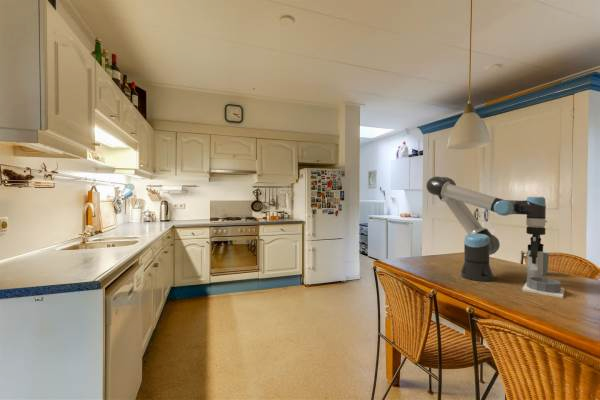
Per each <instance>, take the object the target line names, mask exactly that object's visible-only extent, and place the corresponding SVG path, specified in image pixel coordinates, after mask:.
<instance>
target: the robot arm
mask: <svg viewBox="0 0 600 400" xmlns="http://www.w3.org/2000/svg"><path fill="white" fill-rule="evenodd" d="M426 190H427V191H428V193H429V194H431V195H433V196H437V197H438V198H439V200H440V201H441V202H444V203H445V204H446V205H447V206H448V208H449V209H450V211H451V212H452V213H453V215H454V217H455V218H456V220H458V222H459V224H461V225H460V226H462V227H463V229H464V230H465V232H466V233H467V234H466V235H465V236H464V239H463V243H464V249H463V250H464V256H463V257H464V260H463V265H462V266H461V270H460V276H461V277H462V278H464V279H468V280H472V281H476V282H477V281H478V282H491V281H493V280H494V274H493V271H492V268H491V264H490V256H491V255H494V254H496V253H497V252H498V251H499V249H500V245H501V243H500V240H499V239H498V237H497V236H495V235H494V234H492V233H491V232H490V230H489V229H488V228H487V227H483V226H482V224H481V223H480V222H479V221H478V219H477V217H475V215H474V214H473V213H472V211H471V210H470V208H469V207H468V206H467V205H466V204H469V205H472V206H475V207H478V208H481V209H484V210H487V211H491V212H493V213H496V214H497V215H499V216H503V217H504V216H505V217H506V216H509V215H523V216H524V215H525V216H526V221H525V222H526V223H525V225H526V229H525V230H526V232H525V233H526V234H527V235H532V236H531V237H530V244H531V253H530V255H529V257H531V268H530V270H537V271H538V256H537V254H538V246H539V245H540V244H542V243H541V241H542V238H541V236H543V235H544V236H545V235H546V223H547V222H548V221H547V220H546V214H547V213H546V209H547V205H546V198H545V197H544V196H527V197H526V199H525V200H511V199H510V200H508V199H503V198H500V197H499V198H498V197H495V196H492V195H489V194H486V193H482V192H478V191H476V190H472V189H469V188H466V187H461V186H458V185H457V183H456V182H455V180H453V178H449V177H447V176H433V177H431V178H429V179H428V180H427V182H426Z"/></svg>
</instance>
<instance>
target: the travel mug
mask: <svg viewBox="0 0 600 400" xmlns="http://www.w3.org/2000/svg"><path fill="white" fill-rule="evenodd" d="M544 246H545V244H543V243H541V244H540V245H539V246H538V254H537V256H538V271H537V270H530V268H531V257H529V255H530V253H531V243H529V244H527V251H526V252H527V255H526V265H527V268H526V270H527V272H526V278H527V277H531V276H534V277H544V275H543V252H544Z"/></svg>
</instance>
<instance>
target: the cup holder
mask: <svg viewBox="0 0 600 400" xmlns="http://www.w3.org/2000/svg"><path fill="white" fill-rule="evenodd" d="M561 285H562V283H561V281H559V280H557V279H554V278H550V277H544V276H543V277H534V276H531V277H527V276H526V282H525V283H524V285H523V286H522V289H521V290H522V291H523V292H529V293H532V294H533V293H534V294H539V295H544V296H548V295H549V296H550V297H555V298H559V299H564V294H565V288H562V286H561Z"/></svg>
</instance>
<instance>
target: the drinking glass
mask: <svg viewBox="0 0 600 400" xmlns="http://www.w3.org/2000/svg"><path fill="white" fill-rule="evenodd" d="M525 252H526V253H525V255H526V256H527V251H525ZM549 257H550V254H549V253H548V252H544V251H543V276H547V275H548V267H549Z"/></svg>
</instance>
